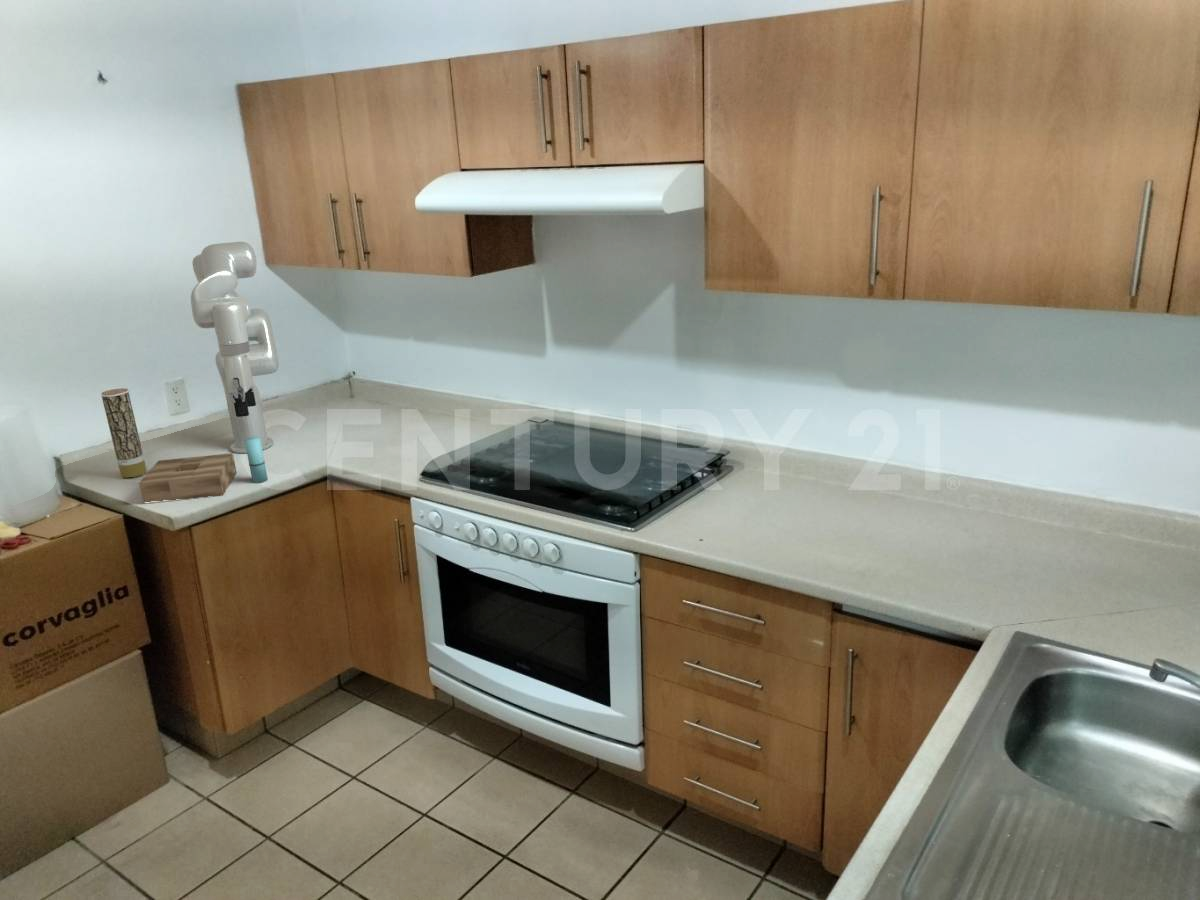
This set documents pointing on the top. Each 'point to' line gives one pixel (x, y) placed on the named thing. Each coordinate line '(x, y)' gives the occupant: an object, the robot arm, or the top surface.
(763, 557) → the top surface
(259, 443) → the peg
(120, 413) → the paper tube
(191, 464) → the socket block
